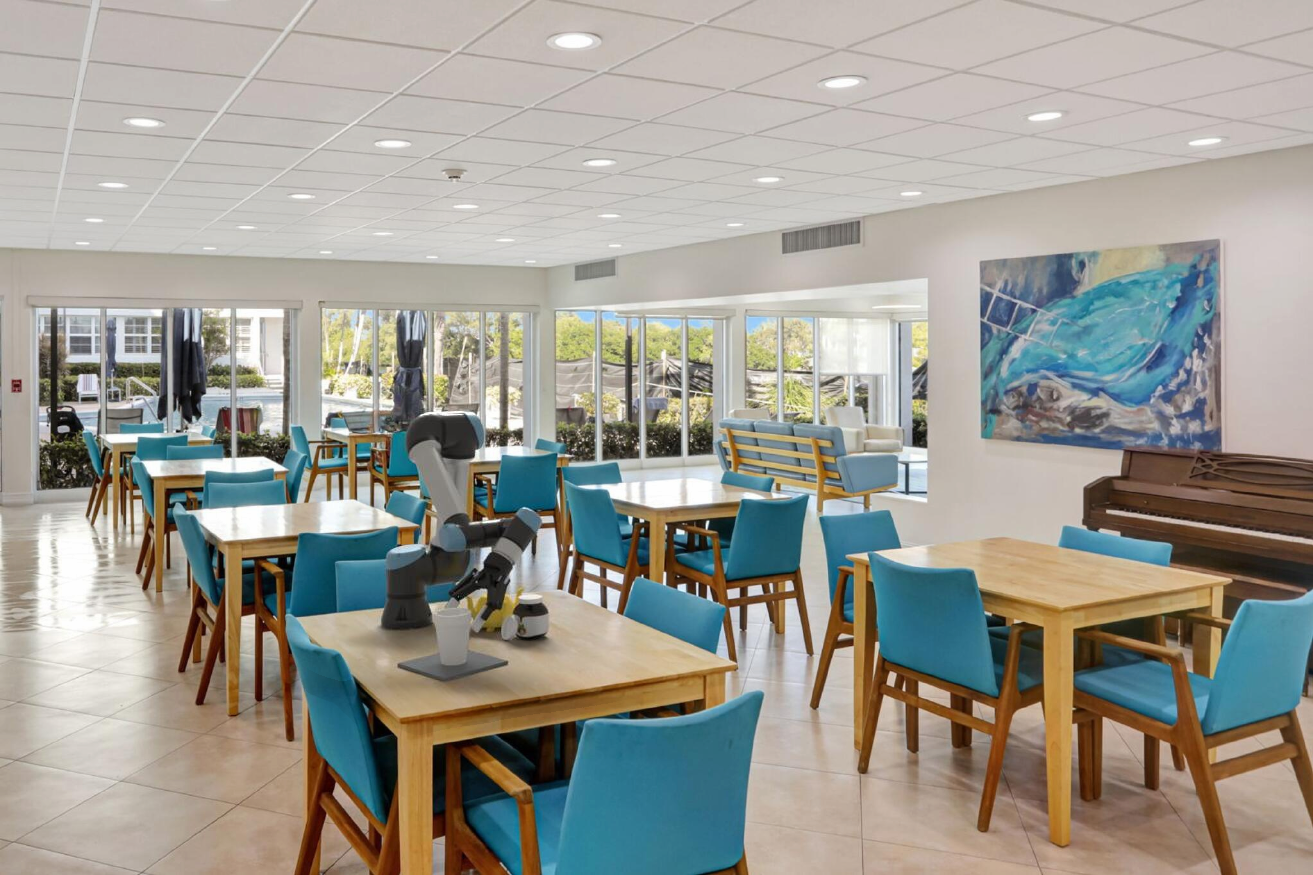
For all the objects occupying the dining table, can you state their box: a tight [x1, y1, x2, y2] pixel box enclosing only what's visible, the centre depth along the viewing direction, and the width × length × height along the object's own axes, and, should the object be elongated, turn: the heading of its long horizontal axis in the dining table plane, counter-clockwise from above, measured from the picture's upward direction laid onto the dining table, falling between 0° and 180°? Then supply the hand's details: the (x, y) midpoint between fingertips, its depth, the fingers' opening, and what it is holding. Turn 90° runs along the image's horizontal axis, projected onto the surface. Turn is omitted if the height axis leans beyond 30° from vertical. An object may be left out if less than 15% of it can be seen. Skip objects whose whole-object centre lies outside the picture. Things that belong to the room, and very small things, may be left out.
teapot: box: [465, 586, 526, 633], centre depth 302 cm, size 20×15×12 cm
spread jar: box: [500, 593, 550, 641], centre depth 291 cm, size 12×11×12 cm
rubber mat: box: [397, 649, 509, 682], centre depth 264 cm, size 20×20×1 cm
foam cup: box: [433, 607, 473, 666], centre depth 264 cm, size 10×9×13 cm
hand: (457, 625), depth 264 cm, fingers open, 13 cm apart
